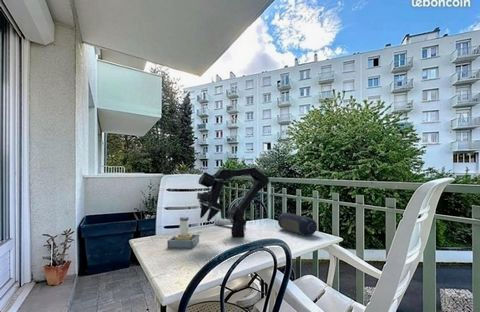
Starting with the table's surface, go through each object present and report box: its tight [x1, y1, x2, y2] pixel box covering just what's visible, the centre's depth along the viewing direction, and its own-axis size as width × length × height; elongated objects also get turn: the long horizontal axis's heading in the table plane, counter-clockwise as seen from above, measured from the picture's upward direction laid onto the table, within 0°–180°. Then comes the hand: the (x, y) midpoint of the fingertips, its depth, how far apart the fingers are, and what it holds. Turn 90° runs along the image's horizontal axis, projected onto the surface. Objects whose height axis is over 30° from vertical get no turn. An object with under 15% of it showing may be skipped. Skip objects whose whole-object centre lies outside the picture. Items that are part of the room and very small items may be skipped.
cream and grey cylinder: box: [179, 216, 189, 237], centre depth 127 cm, size 4×4×12 cm
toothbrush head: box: [214, 217, 247, 230], centre depth 164 cm, size 5×7×25 cm
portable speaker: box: [277, 212, 318, 237], centre depth 148 cm, size 25×10×10 cm, turn 32°
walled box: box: [166, 232, 200, 250], centre depth 127 cm, size 12×12×4 cm
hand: (204, 219), depth 134 cm, fingers open, 9 cm apart
